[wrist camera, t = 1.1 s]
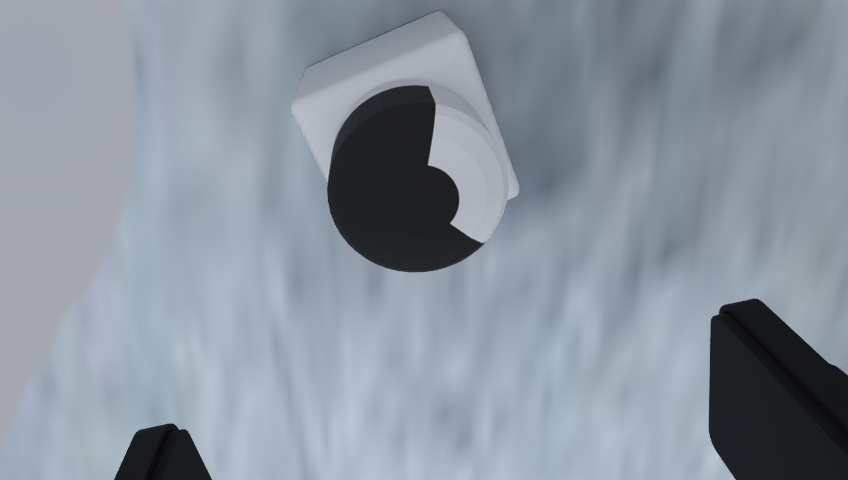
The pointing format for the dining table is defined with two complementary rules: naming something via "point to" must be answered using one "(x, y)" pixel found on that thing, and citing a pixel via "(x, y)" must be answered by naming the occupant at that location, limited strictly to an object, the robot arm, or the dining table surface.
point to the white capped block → (407, 146)
